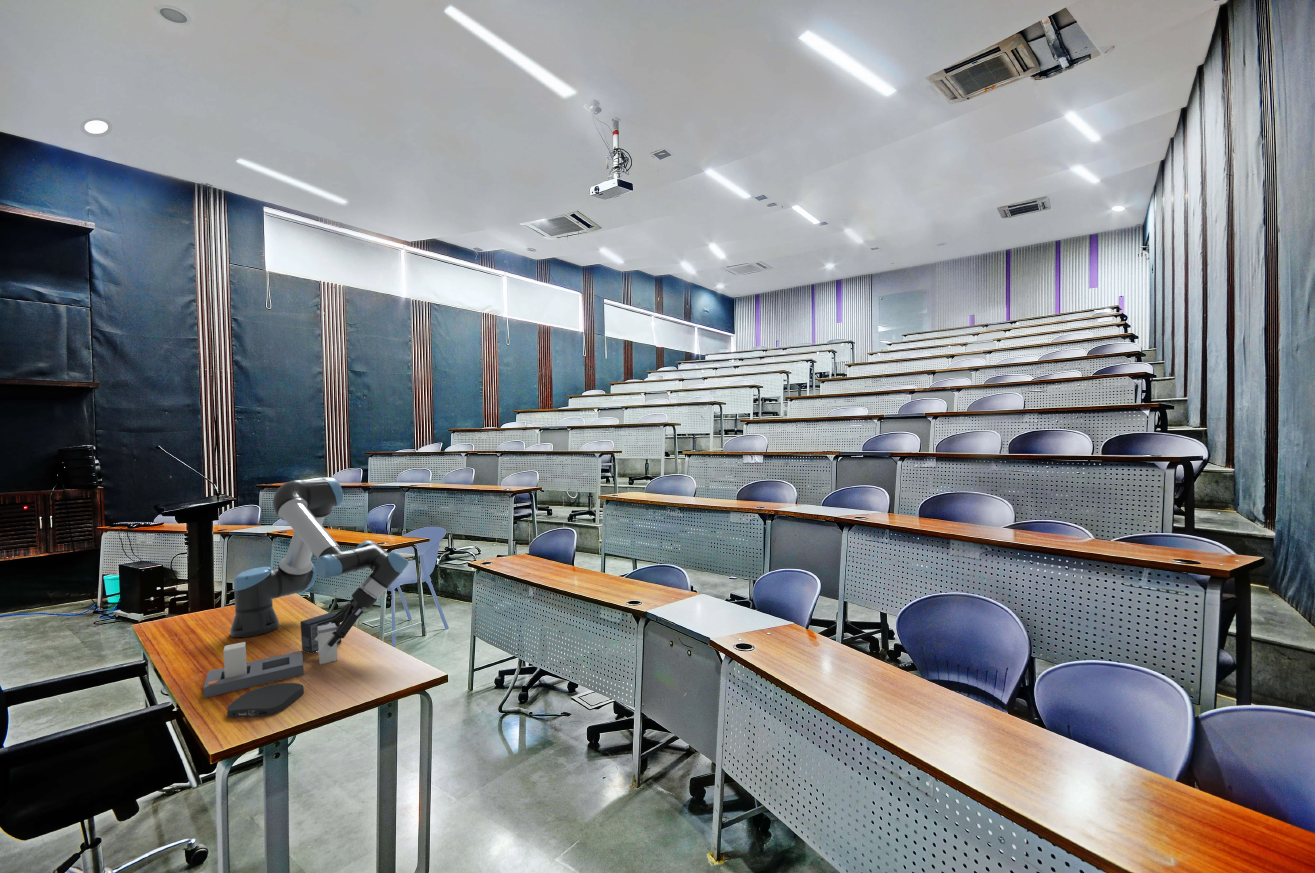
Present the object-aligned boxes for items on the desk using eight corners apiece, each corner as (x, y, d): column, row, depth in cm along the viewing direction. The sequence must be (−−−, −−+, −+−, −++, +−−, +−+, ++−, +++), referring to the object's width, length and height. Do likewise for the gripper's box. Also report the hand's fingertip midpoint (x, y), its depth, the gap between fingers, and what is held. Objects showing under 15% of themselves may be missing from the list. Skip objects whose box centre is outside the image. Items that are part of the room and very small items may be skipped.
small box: (332, 640, 198) (330, 611, 198) (342, 643, 195) (340, 613, 195) (300, 650, 189) (299, 620, 189) (310, 654, 186) (309, 623, 185)
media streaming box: (309, 690, 159) (309, 680, 159) (276, 717, 144) (276, 705, 144) (258, 693, 158) (258, 683, 158) (220, 720, 144) (219, 708, 144)
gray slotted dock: (209, 680, 167) (207, 644, 167) (302, 659, 181) (300, 626, 181) (203, 698, 156) (202, 659, 156) (303, 674, 169) (302, 638, 169)
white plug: (318, 659, 181) (317, 626, 181) (336, 655, 184) (334, 622, 183) (319, 664, 177) (318, 630, 176) (337, 660, 179) (336, 626, 179)
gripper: (383, 607, 178) (332, 665, 170) (372, 590, 199) (326, 641, 190) (364, 594, 175) (311, 653, 167) (355, 578, 196) (307, 630, 187)
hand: (319, 647), depth 179 cm, fingers open, 13 cm apart
